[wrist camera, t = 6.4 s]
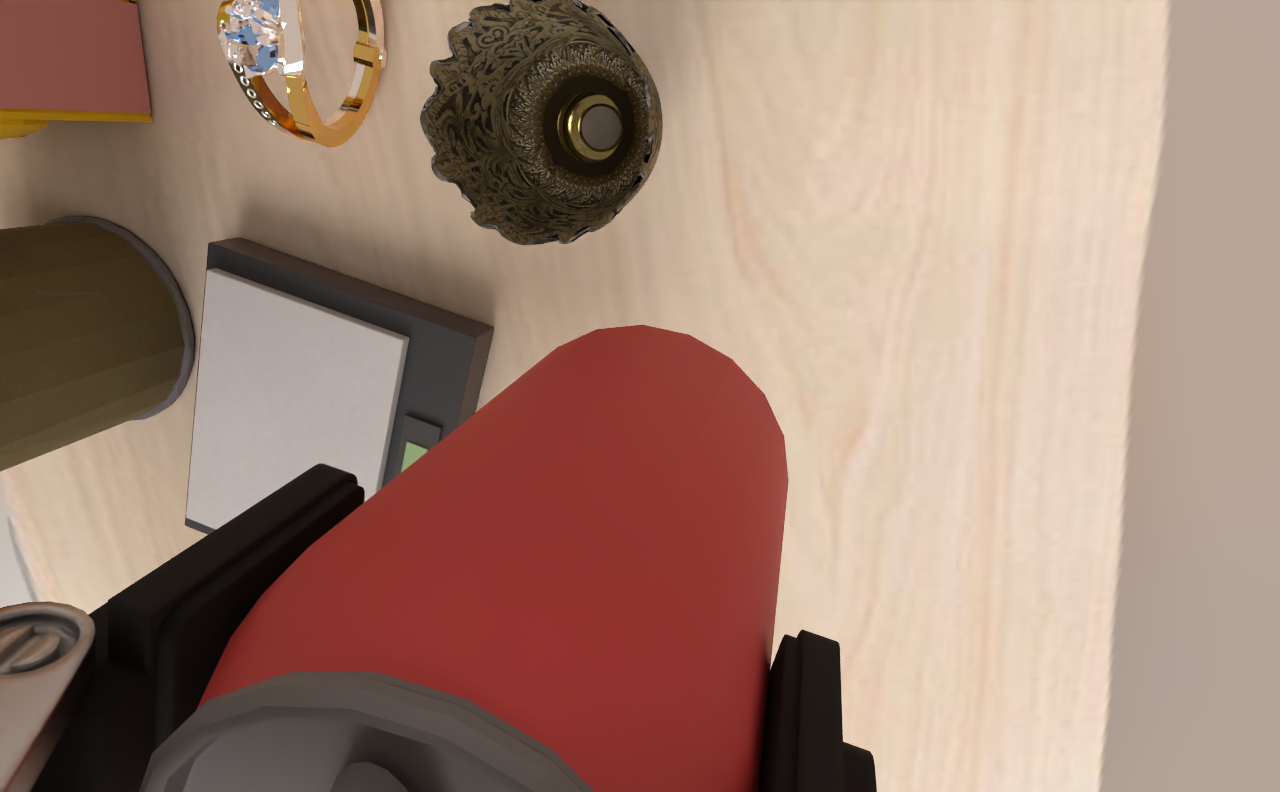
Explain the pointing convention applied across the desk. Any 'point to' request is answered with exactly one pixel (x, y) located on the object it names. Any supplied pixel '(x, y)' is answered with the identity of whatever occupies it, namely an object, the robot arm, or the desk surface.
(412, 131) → the desk surface
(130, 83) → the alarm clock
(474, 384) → the scale
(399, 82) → the desk surface
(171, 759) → the beer can
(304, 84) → the ring
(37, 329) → the canister
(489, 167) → the ornate brass lampshade
